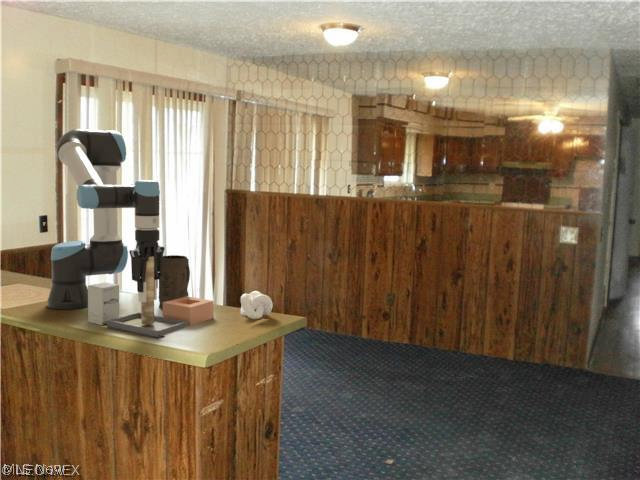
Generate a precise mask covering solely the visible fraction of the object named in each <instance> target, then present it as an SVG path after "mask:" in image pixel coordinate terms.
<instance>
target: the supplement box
mask: <svg viewBox="0 0 640 480" xmlns="http://www.w3.org/2000/svg"><path fill="white" fill-rule="evenodd" d="M87 289H88V306H87V312H88V313H87V319H88V320H87V322H89V323H93V324H96V325H100V326H103V325H107V320H110V319H114V318H118V317H120V284H116V283H110V282H100V283H96V284H89V285H87ZM105 322H106V323H105Z"/></svg>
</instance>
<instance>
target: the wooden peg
mask: <svg viewBox="0 0 640 480" xmlns="http://www.w3.org/2000/svg"><path fill="white" fill-rule="evenodd" d="M141 258H143V257H141ZM144 282H146V302H141V311H140V312H141V317H142V318H141V317H140V318H141V324H142V325H144V326H145V325H154V324H155V320H154V315H155V300H154V256H151V257H149V260H148V261H147V265H146V273H145V280H144Z"/></svg>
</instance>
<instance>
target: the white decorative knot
mask: <svg viewBox="0 0 640 480" xmlns="http://www.w3.org/2000/svg"><path fill="white" fill-rule="evenodd" d="M240 304H241V305H240V306H241V307H240V315H241V316H245V317H248V318H249V319H252V320H256V319H261V318H262V317H263V316H268V315H269V314H270V313H271V311H272V310H273V308H274V307H273V300H272V299H271V297H270V296H268V295H267V294H263V293H261V292H260V291H259V290H254V291H251V292H250V293H243V294H242V295H241V296H240Z"/></svg>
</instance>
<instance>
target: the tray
mask: <svg viewBox="0 0 640 480" xmlns="http://www.w3.org/2000/svg"><path fill="white" fill-rule="evenodd" d="M137 318H141V319H142V317H141V311H137V312H134V313H130V314H126V315H123V316H119V317H118V318H114V319H110V320H107V321H106V328H107V329H111V330H116V331H119V330H120V332H125V333H130V334H133V335H138V336H143V337H146V338H147V337H148V338H152V339H157V340H159V339H163V338H165V337H166V335H165V334H169V333H170V332H171V333H172V332H175V331H177V330H181V329H183V328H186V327H189V325H188V321H183V320H178V319H173V318H167V317H163V315H157V314H154V321H156V322H161V323H166V324H170V326H166V327H163V328H159V329H154V328H149V327H145V326H140V325H136V324H131V323H126V322H125V321H130V320H133V319H137ZM171 324H172V325H171Z"/></svg>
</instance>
